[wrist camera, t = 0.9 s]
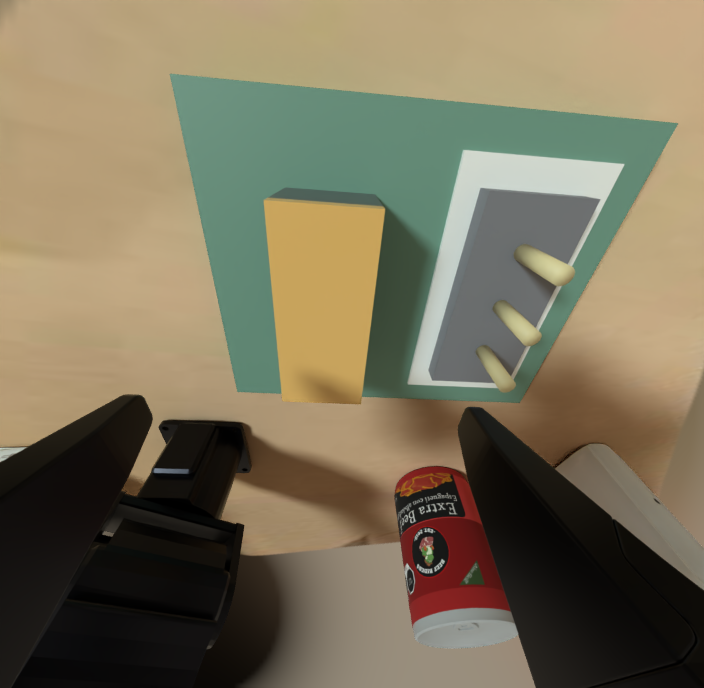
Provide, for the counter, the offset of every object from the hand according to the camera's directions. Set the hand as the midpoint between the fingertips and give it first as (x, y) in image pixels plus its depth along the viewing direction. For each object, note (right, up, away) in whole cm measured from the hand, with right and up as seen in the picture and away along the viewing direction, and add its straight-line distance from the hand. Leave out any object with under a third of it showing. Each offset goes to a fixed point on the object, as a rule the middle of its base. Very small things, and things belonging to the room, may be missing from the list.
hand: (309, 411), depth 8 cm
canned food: (+9, -13, +22) cm, 27 cm away
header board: (+4, +6, +9) cm, 11 cm away
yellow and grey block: (0, +5, +7) cm, 9 cm away
